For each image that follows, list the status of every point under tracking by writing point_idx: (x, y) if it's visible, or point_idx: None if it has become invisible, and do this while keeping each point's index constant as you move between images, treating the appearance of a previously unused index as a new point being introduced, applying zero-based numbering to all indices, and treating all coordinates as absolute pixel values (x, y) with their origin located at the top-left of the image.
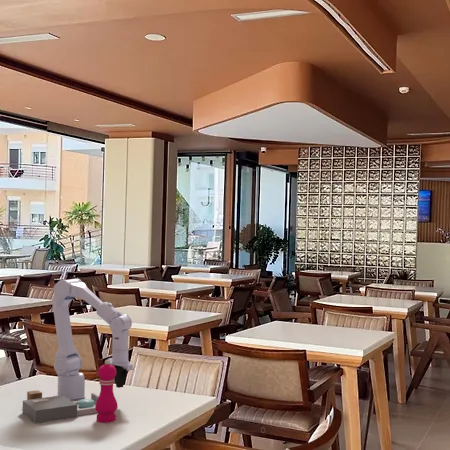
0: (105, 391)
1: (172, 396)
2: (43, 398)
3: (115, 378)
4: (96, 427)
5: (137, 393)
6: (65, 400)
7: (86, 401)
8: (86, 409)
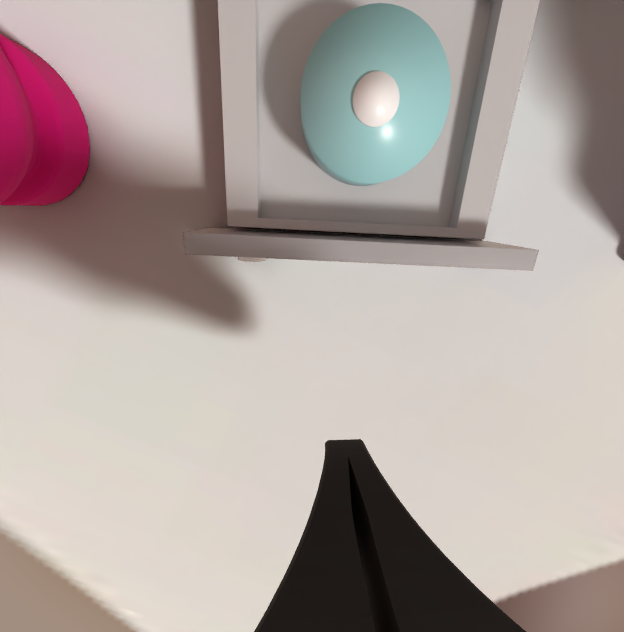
0: None
1: None
2: None
3: (373, 509)
4: None
5: (473, 531)
6: None
7: (355, 92)
8: (220, 33)
